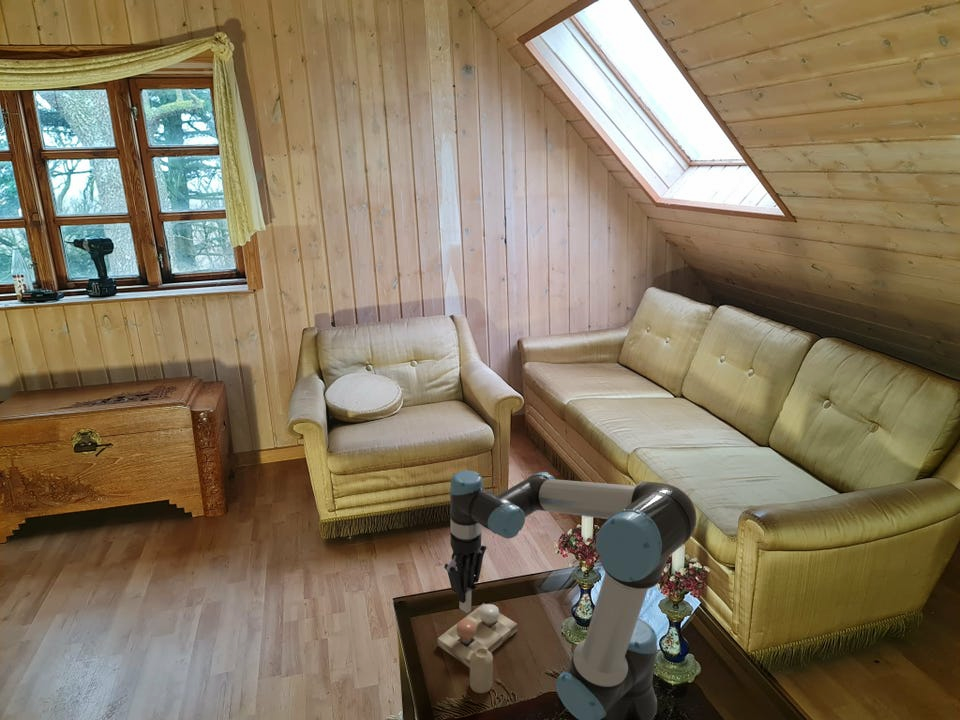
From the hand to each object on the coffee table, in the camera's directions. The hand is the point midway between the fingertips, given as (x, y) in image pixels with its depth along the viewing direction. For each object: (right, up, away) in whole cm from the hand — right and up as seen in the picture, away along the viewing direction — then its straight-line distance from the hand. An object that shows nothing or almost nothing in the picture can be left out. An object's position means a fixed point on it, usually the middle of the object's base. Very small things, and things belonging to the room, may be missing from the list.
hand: (465, 609), depth 181 cm
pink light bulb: (0, -9, +3) cm, 10 cm away
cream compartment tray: (+3, -10, +7) cm, 13 cm away
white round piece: (+6, -8, +10) cm, 14 cm away
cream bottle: (+4, -16, -7) cm, 18 cm away
